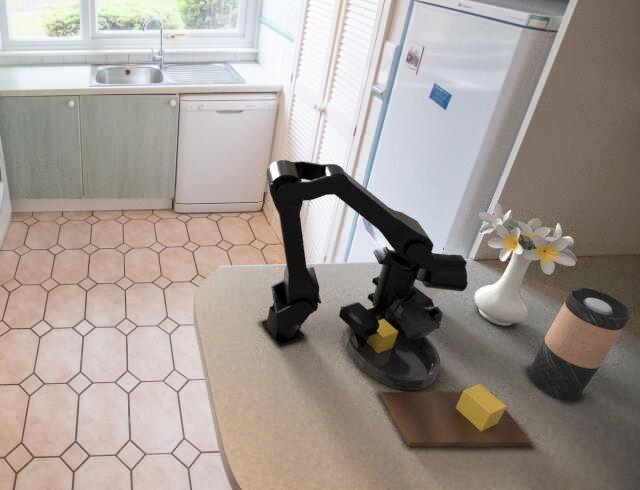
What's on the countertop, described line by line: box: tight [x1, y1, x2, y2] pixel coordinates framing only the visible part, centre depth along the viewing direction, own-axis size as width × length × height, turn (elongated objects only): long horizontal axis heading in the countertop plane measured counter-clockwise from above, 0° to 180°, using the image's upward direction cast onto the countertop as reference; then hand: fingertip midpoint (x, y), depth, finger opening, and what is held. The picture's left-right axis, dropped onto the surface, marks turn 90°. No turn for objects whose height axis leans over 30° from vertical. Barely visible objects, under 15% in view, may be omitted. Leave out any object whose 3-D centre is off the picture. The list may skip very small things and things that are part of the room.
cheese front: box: [456, 383, 507, 431], centre depth 77 cm, size 4×4×4 cm
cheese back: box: [367, 319, 398, 353], centre depth 92 cm, size 4×4×4 cm
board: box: [380, 391, 532, 448], centre depth 78 cm, size 20×9×1 cm, turn 90°
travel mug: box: [528, 287, 631, 401], centre depth 81 cm, size 8×8×20 cm
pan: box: [343, 318, 441, 391], centre depth 90 cm, size 16×16×3 cm
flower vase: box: [473, 202, 579, 327], centre depth 96 cm, size 13×18×25 cm
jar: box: [414, 277, 445, 308], centre depth 101 cm, size 9×8×12 cm
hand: (376, 340), depth 93 cm, fingers open, 8 cm apart
